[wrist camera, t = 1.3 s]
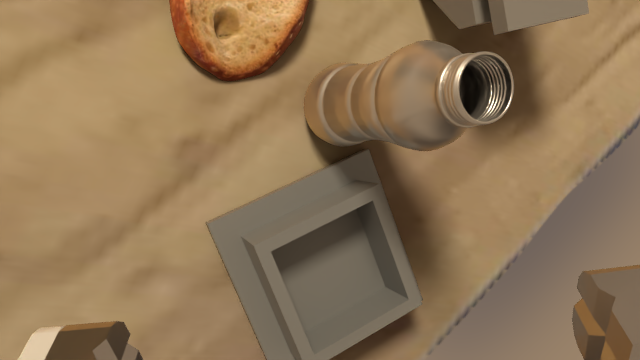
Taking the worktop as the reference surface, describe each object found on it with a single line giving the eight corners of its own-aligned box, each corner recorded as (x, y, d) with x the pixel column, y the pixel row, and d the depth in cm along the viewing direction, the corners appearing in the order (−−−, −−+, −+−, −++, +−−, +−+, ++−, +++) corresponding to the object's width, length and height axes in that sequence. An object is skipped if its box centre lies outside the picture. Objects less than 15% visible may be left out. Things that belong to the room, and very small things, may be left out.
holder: (275, 381, 46) (294, 407, 41) (205, 222, 43) (217, 233, 38) (418, 297, 51) (448, 313, 46) (364, 148, 47) (391, 150, 43)
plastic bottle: (376, 83, 47) (551, 49, 29) (352, 156, 47) (514, 171, 28) (311, 54, 45) (456, -3, 26) (285, 131, 45) (414, 129, 26)
